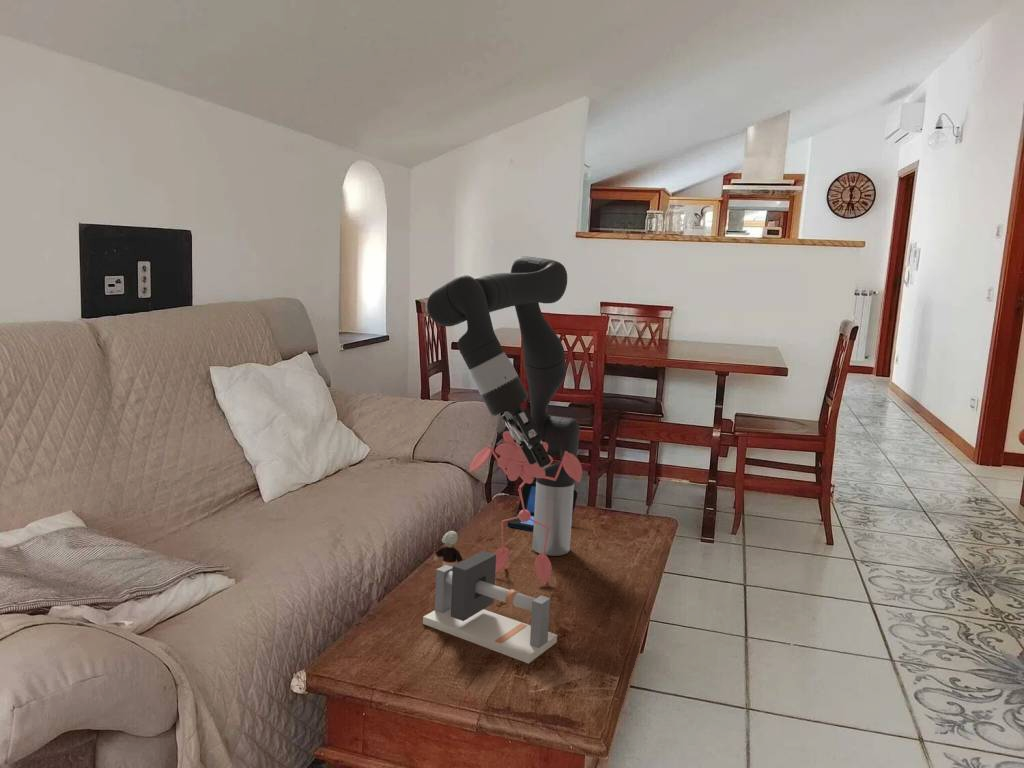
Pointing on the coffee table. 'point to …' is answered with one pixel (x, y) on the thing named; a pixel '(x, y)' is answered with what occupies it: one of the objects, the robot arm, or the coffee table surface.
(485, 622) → the pipe stand
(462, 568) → the grey plate with hole
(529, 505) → the handheld game console
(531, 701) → the coffee table surface
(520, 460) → the flower
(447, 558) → the grandmother figurine
